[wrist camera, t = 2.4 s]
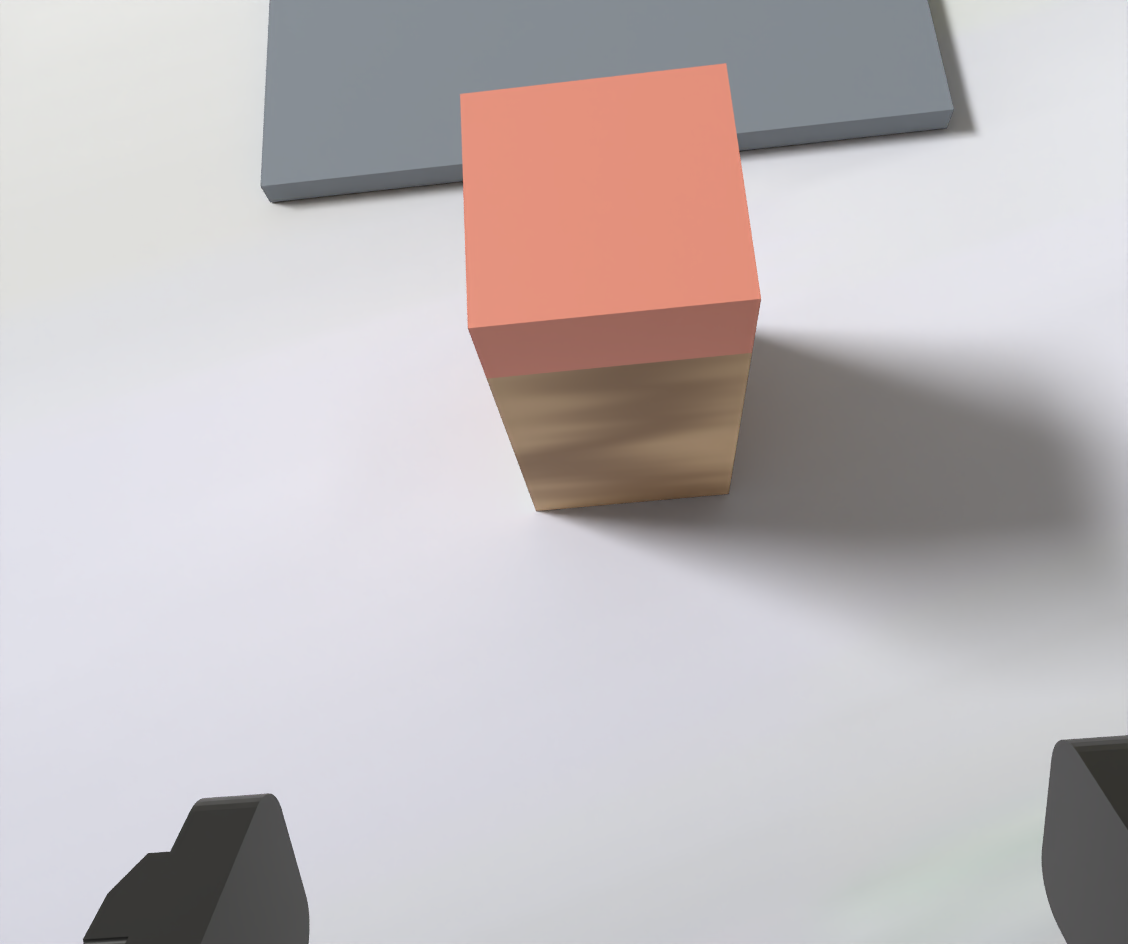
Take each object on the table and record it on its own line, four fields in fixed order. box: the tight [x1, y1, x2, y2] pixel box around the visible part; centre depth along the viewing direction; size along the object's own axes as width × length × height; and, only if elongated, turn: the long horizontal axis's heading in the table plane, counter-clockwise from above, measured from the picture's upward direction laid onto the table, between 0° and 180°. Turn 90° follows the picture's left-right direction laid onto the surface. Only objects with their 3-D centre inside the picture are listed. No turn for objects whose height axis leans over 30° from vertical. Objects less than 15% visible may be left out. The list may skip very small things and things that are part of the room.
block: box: [460, 63, 761, 511], centre depth 23 cm, size 5×5×10 cm
